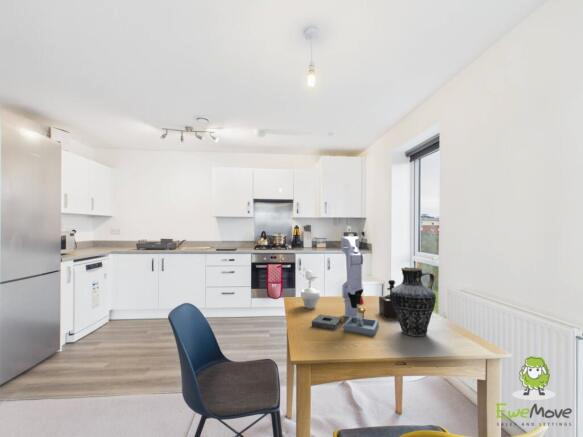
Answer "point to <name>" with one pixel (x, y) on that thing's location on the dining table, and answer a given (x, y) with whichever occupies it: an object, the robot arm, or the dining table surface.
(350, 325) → the tray
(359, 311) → the pin
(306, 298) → the potted plant
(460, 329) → the dining table surface
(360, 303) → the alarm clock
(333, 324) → the grey square frame
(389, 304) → the dark piece
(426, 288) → the jug
